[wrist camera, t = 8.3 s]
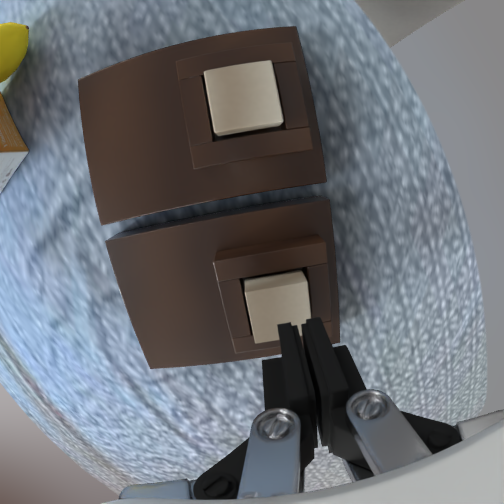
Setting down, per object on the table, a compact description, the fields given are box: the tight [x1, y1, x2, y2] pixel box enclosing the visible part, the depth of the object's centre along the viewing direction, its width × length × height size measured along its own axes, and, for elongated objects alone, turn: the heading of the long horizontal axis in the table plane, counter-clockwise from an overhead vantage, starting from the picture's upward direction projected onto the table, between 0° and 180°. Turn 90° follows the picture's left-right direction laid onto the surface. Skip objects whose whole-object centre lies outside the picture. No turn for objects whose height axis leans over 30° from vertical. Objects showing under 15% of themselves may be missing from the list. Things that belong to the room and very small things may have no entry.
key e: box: [245, 270, 311, 343], centre depth 16 cm, size 3×3×2 cm
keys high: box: [105, 196, 340, 369], centre depth 18 cm, size 14×10×4 cm
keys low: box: [78, 26, 327, 225], centre depth 15 cm, size 14×10×4 cm
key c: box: [204, 60, 283, 136], centre depth 13 cm, size 3×3×2 cm
